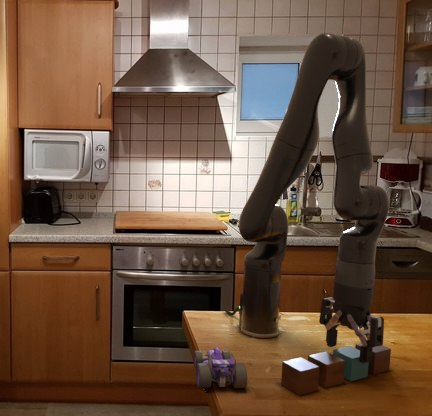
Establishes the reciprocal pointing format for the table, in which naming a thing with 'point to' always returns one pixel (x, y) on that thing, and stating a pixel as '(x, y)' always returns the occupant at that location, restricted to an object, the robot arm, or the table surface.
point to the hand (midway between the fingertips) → (347, 353)
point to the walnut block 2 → (328, 368)
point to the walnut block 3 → (378, 359)
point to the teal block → (352, 363)
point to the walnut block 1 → (300, 376)
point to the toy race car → (219, 369)
